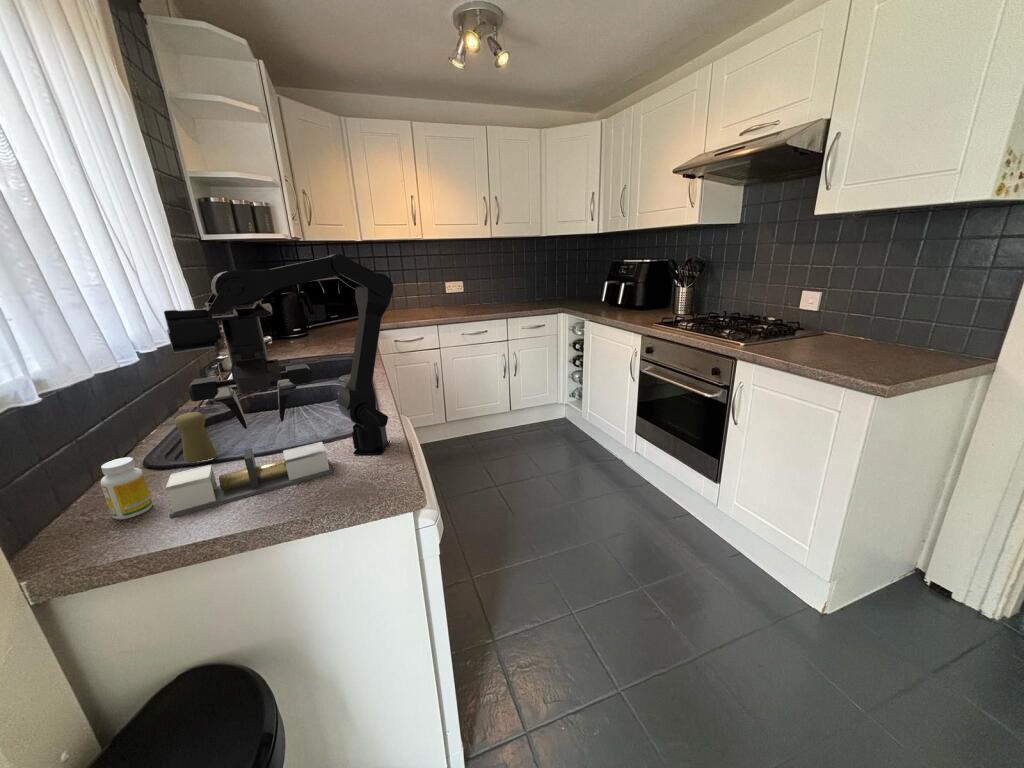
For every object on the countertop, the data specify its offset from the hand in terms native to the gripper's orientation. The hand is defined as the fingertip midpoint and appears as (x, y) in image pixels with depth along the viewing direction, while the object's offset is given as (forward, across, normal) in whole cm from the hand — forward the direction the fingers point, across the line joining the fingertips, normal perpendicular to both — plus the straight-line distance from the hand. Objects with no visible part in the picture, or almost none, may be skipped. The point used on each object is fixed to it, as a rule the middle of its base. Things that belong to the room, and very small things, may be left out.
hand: (264, 424), depth 76 cm
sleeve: (+11, +6, 0) cm, 13 cm away
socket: (+11, -13, 0) cm, 17 cm away
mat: (+12, -3, 0) cm, 12 cm away
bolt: (+11, 0, 0) cm, 11 cm away
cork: (+12, -14, +22) cm, 29 cm away
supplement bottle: (+12, -22, +3) cm, 26 cm away
